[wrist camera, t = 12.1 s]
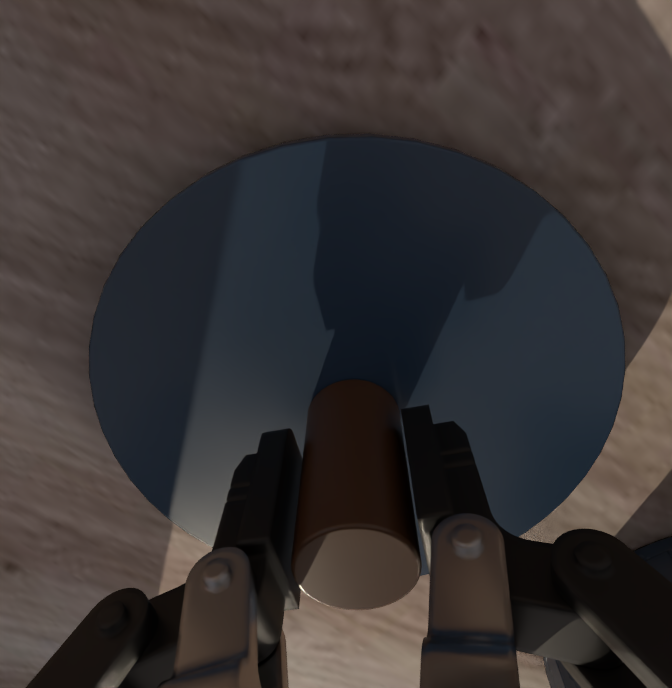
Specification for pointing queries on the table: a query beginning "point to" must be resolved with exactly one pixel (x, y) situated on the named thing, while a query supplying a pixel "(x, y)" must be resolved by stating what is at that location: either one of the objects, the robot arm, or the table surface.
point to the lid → (356, 346)
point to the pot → (661, 555)
